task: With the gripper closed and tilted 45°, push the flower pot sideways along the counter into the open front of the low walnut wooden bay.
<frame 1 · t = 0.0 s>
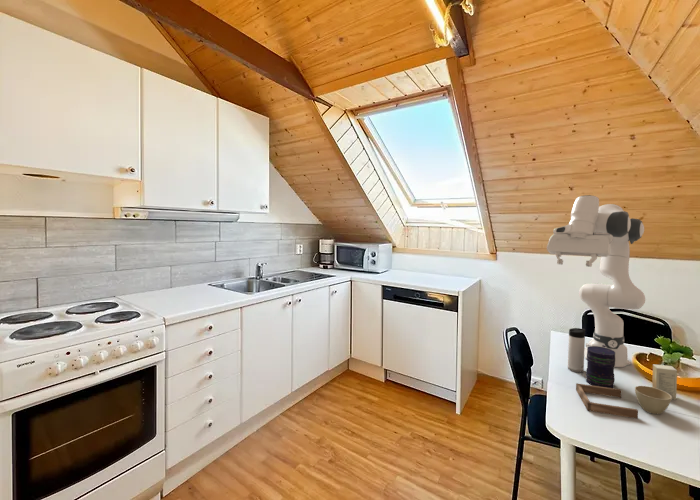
hand: (573, 265, 124), 54 cm above the table, tool tilted 30°, fingers open, 8 cm apart
travel mug: (575, 370, 155), on the table
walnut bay: (605, 403, 127), on the table
skincare box: (663, 396, 131), on the table
flower pot: (651, 411, 121), on the table
storage jar: (599, 384, 142), on the table
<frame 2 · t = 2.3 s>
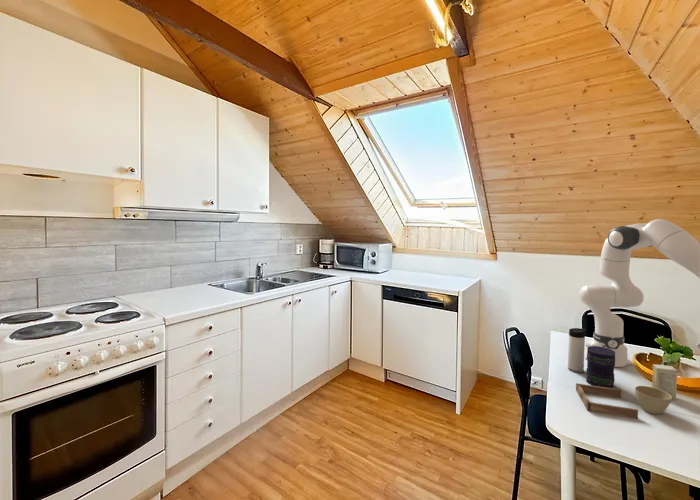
nothing on the table moved.
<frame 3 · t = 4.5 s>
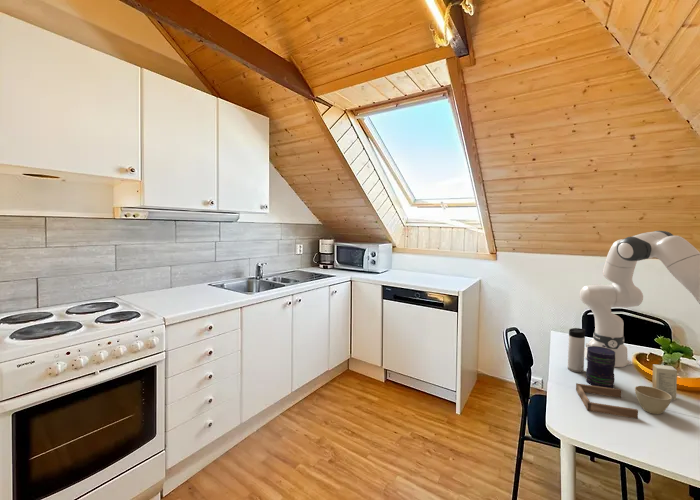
nothing on the table moved.
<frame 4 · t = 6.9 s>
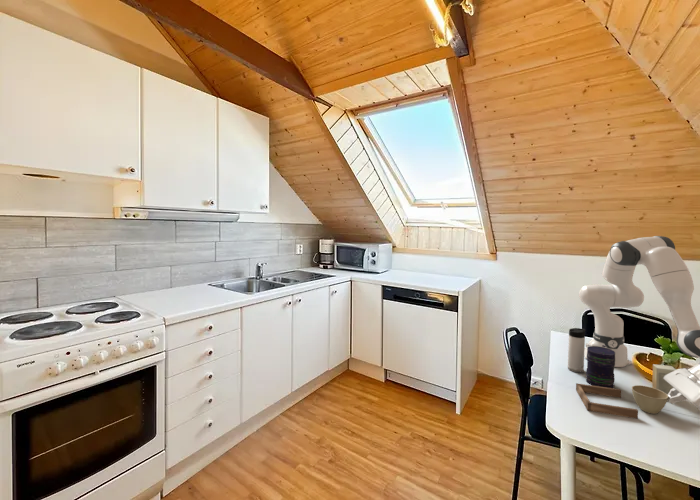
hand: (668, 400, 119), 5 cm above the table, tool tilted 45°, fingers closed, pressing on flower pot
flower pot: (648, 410, 122), on the table, touching gripper
everything else where it was.
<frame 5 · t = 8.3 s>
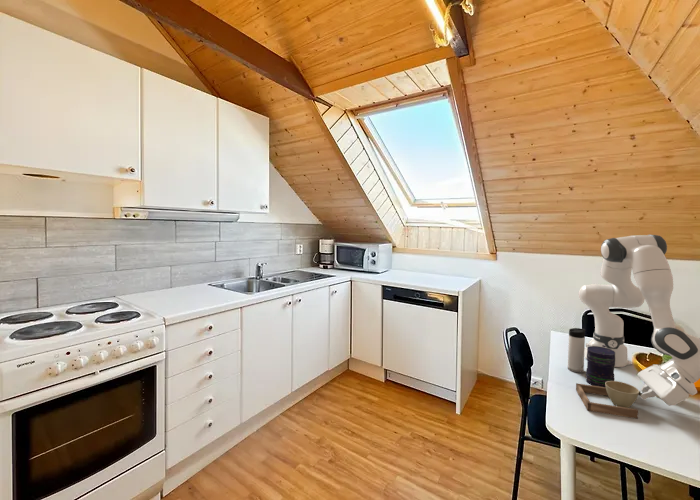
hand: (640, 396, 122), 5 cm above the table, tool tilted 45°, fingers closed, pressing on flower pot
flower pot: (620, 405, 126), on the table, touching gripper
everything else where it was.
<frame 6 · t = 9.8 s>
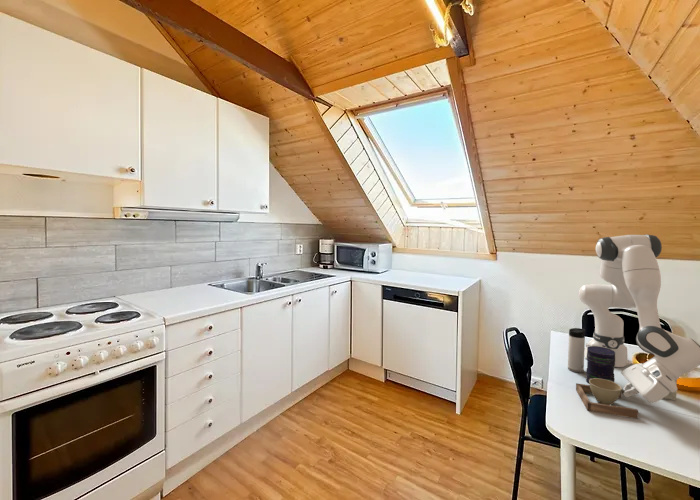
hand: (623, 394, 124), 5 cm above the table, tool tilted 45°, fingers closed
flower pot: (604, 402, 128), on the table, touching gripper
everything else where it was.
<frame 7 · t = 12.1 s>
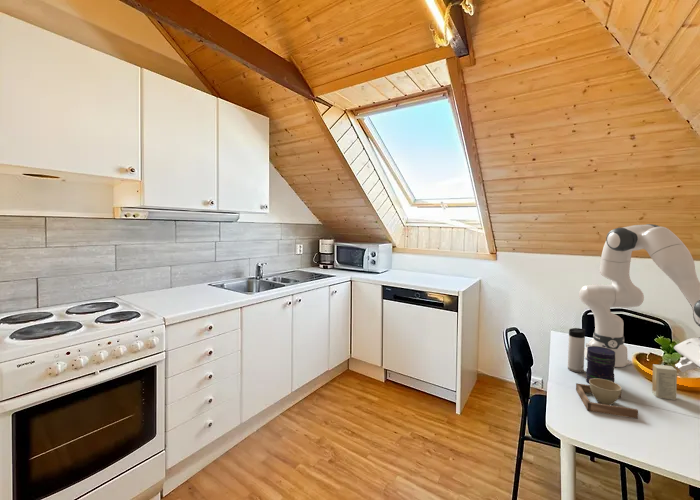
hand: (678, 368, 119), 17 cm above the table, tool tilted 45°, fingers closed
flower pot: (604, 402, 128), on the table
everything else where it was.
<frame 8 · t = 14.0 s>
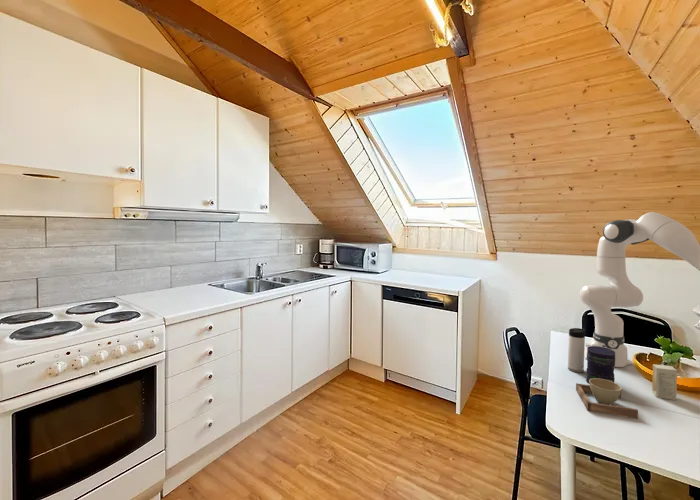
hand: (698, 328, 118), 31 cm above the table, tool tilted 45°, fingers closed
nothing on the table moved.
at the end: flower pot inside the target area on the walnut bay (1.5 cm from its centre), point 0.0 cm above the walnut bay's base; flower pot tilted 0° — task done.
